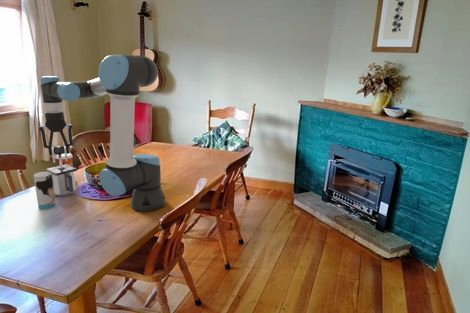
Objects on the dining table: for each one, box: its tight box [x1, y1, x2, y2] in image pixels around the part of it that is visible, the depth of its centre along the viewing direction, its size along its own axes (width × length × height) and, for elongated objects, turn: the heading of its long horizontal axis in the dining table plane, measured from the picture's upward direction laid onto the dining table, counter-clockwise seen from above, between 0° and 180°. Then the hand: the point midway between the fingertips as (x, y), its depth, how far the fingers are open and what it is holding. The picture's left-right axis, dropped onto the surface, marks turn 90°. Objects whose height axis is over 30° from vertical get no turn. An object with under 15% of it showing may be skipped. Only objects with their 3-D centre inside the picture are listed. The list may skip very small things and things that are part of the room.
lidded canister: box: [45, 164, 78, 198], centre depth 156 cm, size 13×10×12 cm
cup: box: [33, 171, 57, 211], centre depth 141 cm, size 7×7×15 cm
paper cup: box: [55, 152, 74, 167], centre depth 173 cm, size 8×8×14 cm
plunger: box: [52, 145, 65, 170], centre depth 155 cm, size 7×7×21 cm
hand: (60, 161), depth 154 cm, fingers closed on plunger, 4 cm apart
